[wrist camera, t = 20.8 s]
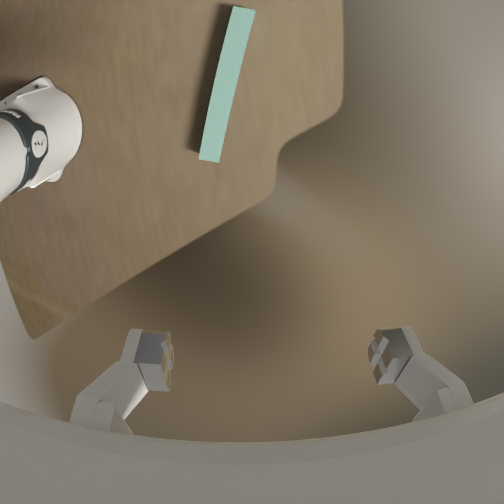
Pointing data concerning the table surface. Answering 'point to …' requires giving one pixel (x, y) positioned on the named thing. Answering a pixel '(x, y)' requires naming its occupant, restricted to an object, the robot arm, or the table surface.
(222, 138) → the bar
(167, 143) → the table surface
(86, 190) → the table surface
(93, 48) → the table surface
